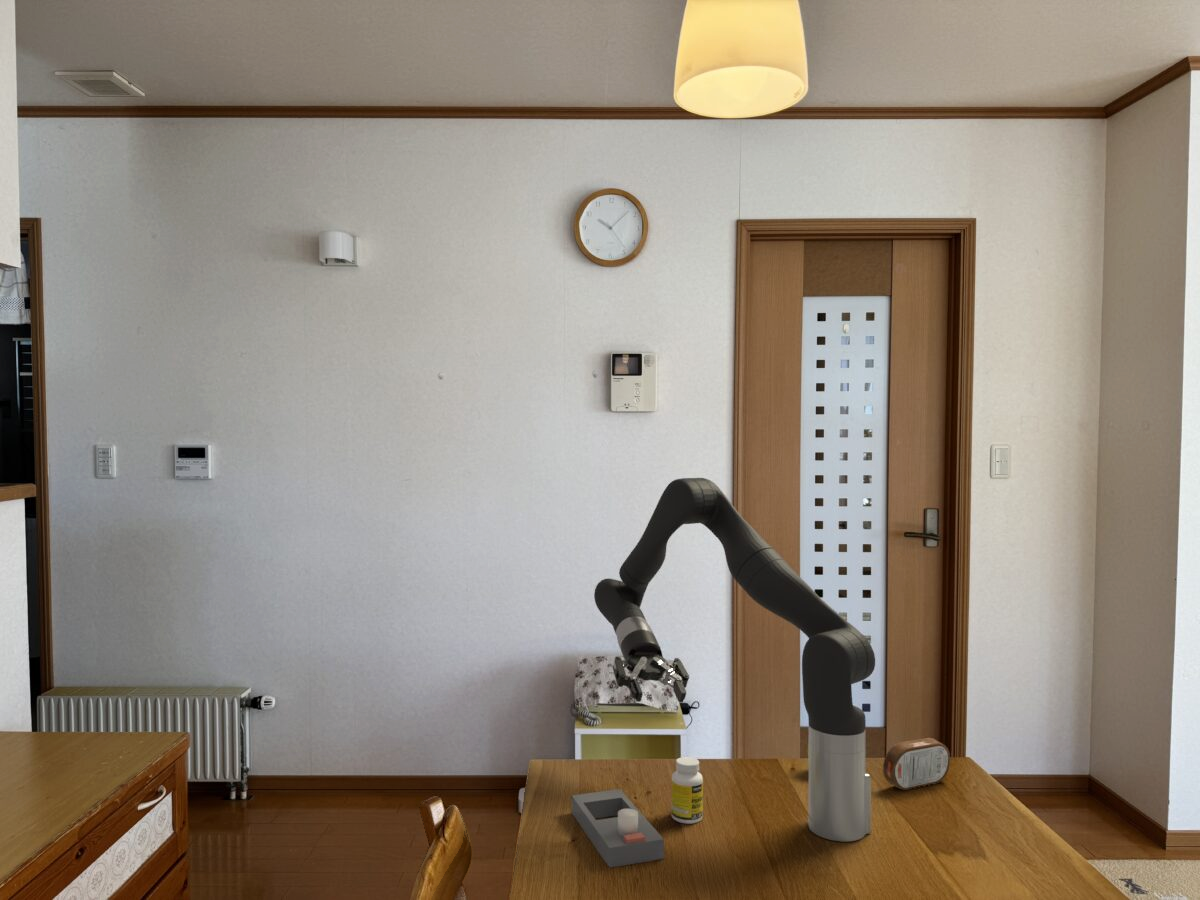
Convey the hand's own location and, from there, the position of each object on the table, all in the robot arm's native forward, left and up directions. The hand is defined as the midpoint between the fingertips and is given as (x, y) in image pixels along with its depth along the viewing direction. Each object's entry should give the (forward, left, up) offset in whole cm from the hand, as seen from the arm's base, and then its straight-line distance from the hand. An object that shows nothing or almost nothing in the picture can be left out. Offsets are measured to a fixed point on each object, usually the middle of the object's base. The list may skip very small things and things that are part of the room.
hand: (661, 698), depth 148 cm
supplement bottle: (0, +11, -18) cm, 21 cm away
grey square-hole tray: (+14, +13, -18) cm, 26 cm away
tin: (-48, +12, -18) cm, 53 cm away
